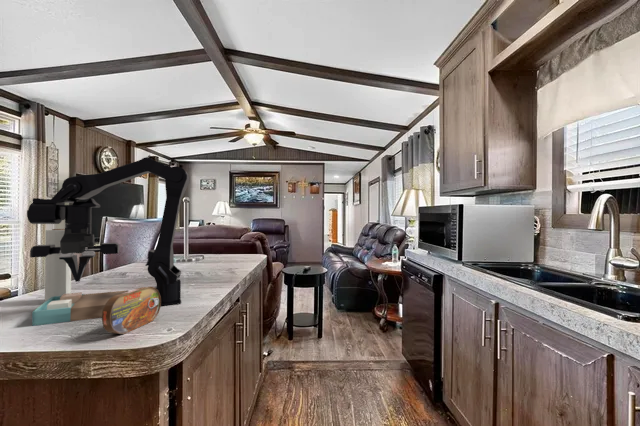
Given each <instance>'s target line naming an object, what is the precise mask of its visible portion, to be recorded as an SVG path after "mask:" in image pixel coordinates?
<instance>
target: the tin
mask: <svg viewBox="0 0 640 426" xmlns="http://www.w3.org/2000/svg"><path fill="white" fill-rule="evenodd" d="M154 287H155V286H144V287H142V286H141V287H138V288H134V289H131V290H128V292H125V293H122V294H118V295H115V296H113V297H112V298H110V299H109V300H108V301H107V303H106V304H105V306H104V308H103V311H102V318H101V322H102V327H103V328H104V330H105V331H106V332H107V333H109V334H118V335H125V334H127V333H128V334H129V333H130V332H133V331H134V330H136V329H140V327H143V326H145V325H147V324H150V323H151V322H153V321H154V320H155V319H156V318H157V316H158V315H159V313H160V310H161V297H160V293H159V292H158V290H157V289H156V288H154Z"/></svg>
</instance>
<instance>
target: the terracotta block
mask: <svg viewBox="0 0 640 426" xmlns="http://www.w3.org/2000/svg"><path fill="white" fill-rule="evenodd" d="M82 294H83V292H82V291H81V292H73V293H72V292H71V293H69V294H63V295H62V296H61V297H60V300H69V299H72V304H73V303H76V302H77V301H78V300H79V299H80V298H81V296H82Z"/></svg>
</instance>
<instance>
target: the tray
mask: <svg viewBox="0 0 640 426" xmlns="http://www.w3.org/2000/svg"><path fill="white" fill-rule="evenodd" d="M83 294H84V293H82V295H83ZM60 297H61V296H53V297H51V298H49V299H48V300H47V301H46V302H45V301H44V302H43V303H42V304H41V305H39V306H38V307H36V309H34V310H33V311H32V312H31V313H32V316H31V317H32V321H31V324H32V325H31V326H32V327H35V326H42V325H43V326H44V325H51V324H52V325H53V324H59V323H60V324H61V323H69V322H71V321H70V317H71V308H72V307H73V305H74V304H75V303H73V304H72V307H69V308H59V309H50V310H47V305H48V304H49V303H50V302H51V301H58V300H60Z"/></svg>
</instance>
